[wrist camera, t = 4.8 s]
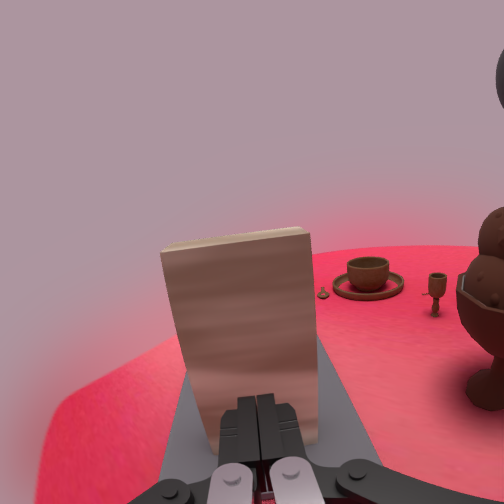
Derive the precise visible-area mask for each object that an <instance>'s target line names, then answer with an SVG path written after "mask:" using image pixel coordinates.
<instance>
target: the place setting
mask: <svg viewBox="0 0 504 504" xmlns="http://www.w3.org/2000/svg"><path fill="white" fill-rule="evenodd" d="M387 280H391V281H394V282H395V283H397V284H398V287H396V288H394V289H392V290H389V291H385V292H380V293H371V294H361V293H352V292H347V291H343V290H341V289H339V288H338V287H339V285H340V284H342V283H344V282H346V281H350V283H351V284H352V285H354V286H356V287H357V289H358V290H361V291H375V290H378V289H379V288H380V286H382V285H383V284H384V283H386V281H387ZM446 283H447V275H446V274H444V273H431V274H429V283H428V290H429V293H428V294H430V296H431V297H433V305H432V311H433V313H432V314H431V316H433V317H437V316H439V315H438V313H437V312H438V310H439V298H440V297H442V296H443V295H444V294H445V291H446ZM403 285H404V279H403V277H402V276H400V275H399V274H397V273H394V272H390V271H389V261H388V260H387V259H385V258H381V257H360V258H355V259H352V260H350V261H348V262H347V273H345V274H342V275H340V276H338V277H336V278H335V279H334V280H333V288H334V291H335V292H336V293H337V294H338V295H340V296H342V297H344V298H348V299H352V300H360V301H372V300H381V299H386V298H389V297H392V296H394V295H396V294H398V293H399V292H400V291H401V290H402V288H403ZM322 293H325V295H321V294H322ZM426 294H427V293H426ZM426 294H425V295H426ZM422 295H424V294H422ZM317 296H318V297H319V298H321V299H325V298H327V297H328V296H329V293H328V292H326V291H325V290H324V287H321V292H319V293H318V294H317Z"/></svg>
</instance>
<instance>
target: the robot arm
mask: <svg viewBox="0 0 504 504" xmlns="http://www.w3.org/2000/svg"><path fill="white" fill-rule="evenodd" d="M496 89H497V94H498V97H499V100H500V102H501V105H502V107H503V108H504V50H503V51H502V54H501V55H500V58H499V61H498V64H497V69H496ZM256 398H257V404H256ZM256 398H255V395H254V396H245V397H238V398H237V409H233V410H226V411H225V413H224V414H223V416H222V417H221V421H220V438H219V455H218V467H217V469H216V470H215V471H214V472H213V474H212V475H211V476H210V477H209V478H207V479H205V480H202V481H199V482H195V483H191V484H186V483H185V482H183V481H181V480H179V479H172V478H171V479H164V480H161V481H159V482H158V483H156V484H155V485H153V486H152V487H151V488H149V489H148V490H146V491H145V492H144V493H142V494H141V495H139V496H138V497H136V498H135V499H133V500H132V501H131V502H129V503H128V504H262V499H261V493H262V492H267V488H266V481H267V486H268V491H269V492H271V491H273V495H274V500H275V504H504V502H499V501H494V500H489V499H484V498H480V497H475V496H471V495H467V494H463V493H460V492H456V491H452V490H449V489H446V488H442V487H439V486H436V485H433V484H430V483H427V482H424V481H421V480H418V479H415V478H412V477H409V476H407V475H404V474H401V473H399V472H396V471H394V470H391V469H389V468H386V467H384V466H381V465H379V464H376V463H374V462H372V461H369V460H367V459H352V460H349V461H347V462H345V463H344V464H342V465H341V466H340V467H323V466H319V465H316V464H314V463H313V462H311V461H310V460H309V459H308V457H307V455H306V452H305V448H304V443H303V439H302V435H301V431H300V428H299V423H298V420H297V415H296V411H295V409H294V408H293V407H292V406H291V405H290V404H289V403H282V404H275V398H274V393H269V394H261V395H256ZM257 409H258V410H257ZM265 476H266V478H265Z"/></svg>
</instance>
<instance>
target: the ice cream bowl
mask: <svg viewBox="0 0 504 504" xmlns="http://www.w3.org/2000/svg"><path fill="white" fill-rule="evenodd" d="M478 247H479V255H478V256H477V257H476V258H475V259H474V260H473V261H472V262H471V264H470V265H469V267H468V269H467V271H466V272H465V273H462V274H459V275H458V281H457V287H456V297H457V310H458V313H459V316H460V320H461V324H462V325H463V326H464V328H465V329H466V330H467V332H468V333H469V334H470V336H471V337H472V338H473V339H474V340H475V341H476V342H477V343H478V344H479V345H480V346H481V347H483V348H484V349H485V350H486V351H487V352H488V353H490V354H491V355H493V356H494V360H493V363H492V366H491V369H484V370H480V371H478V372H477V373H476V374H474V375H473V376H472V377H470V379H469V380H468V383H467V389H466V394H467V396H468V397H469V398H470V400H471V401H472V403H473V404H474V405H476V406H478V407H481V408H484V409H486V410H489V411H494V410H500V409H504V207H501V208H499V209H497V210H494V211H493V212H492V213H490V215H489V216H488V217H487V218H486V219H485V220H484V222H483V224H482V226H481V229H480V231H479V238H478Z"/></svg>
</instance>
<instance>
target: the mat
mask: <svg viewBox="0 0 504 504" xmlns="http://www.w3.org/2000/svg"><path fill="white" fill-rule="evenodd" d="M317 361H318V443H315V444H310V445H305V446H304V448H305V452H306V455H307V457H308V459H309V460H310V461H311V462H313V463H314V464H316V465H319V466H323V467H340V466H341V465H342V464H344V463H345V462H347V461H349V460H352V459H367V460H369V461H372V462H374V463H376V464H379V465H381V466H383V465H382V463H381V461H380V459H379V457H378V454H377V452H376V450H375V448H374V446H373V444H372V442H371V440H370V438H369V436H368V434H367V432H366V430H365V428H364V426H363V424H362V422H361V420H360V418H359V416H358V414H357V412H356V410H355V408H354V406H353V404H352V402H351V400H350V398H349V396H348V394H347V392H346V390H345V388H344V386H343V384H342V382H341V380H340V378H339V376H338V374H337V372H336V370H335V368H334V366H333V364H332V363H331V361H330V359H329V357H328V355H327V353H326V351H325V349H324V347H323V345H322V343H321V341H320V339H319V337H318V335H317ZM217 467H218V455H213V452H212V449H211V446H210V443H209V440H208V438H207V435H206V432H205V429H204V426H203V423H202V420H201V416H200V413H199V410H198V407H197V404H196V401H195V397H194V394H193V391H192V387H191V384H190V380H189V377H188V373H187V371H186V375H185V379H184V382H183V386H182V390H181V393H180V397H179V401H178V405H177V408H176V412H175V416H174V420H173V424H172V428H171V431H170V435H169V439H168V443H167V447H166V451H165V455H164V459H163V463H162V468H161V472H160V476H159V480H158V482H159V481H161V480H164V479H171V478H172V479H179V480H181V481H183V482H185V483H186V484H191V483H195V482H199V481H202V480H205V479H207V478H209V477H210V476H211V475H212V474H213V472H214V471H215V470H216V469H217ZM265 478H266V476H265ZM266 488H267V492H262V493H261V499H262V500H264V499H273V498H274V495H273V491H271V492H269V491H268V486H267V481H266Z"/></svg>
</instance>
